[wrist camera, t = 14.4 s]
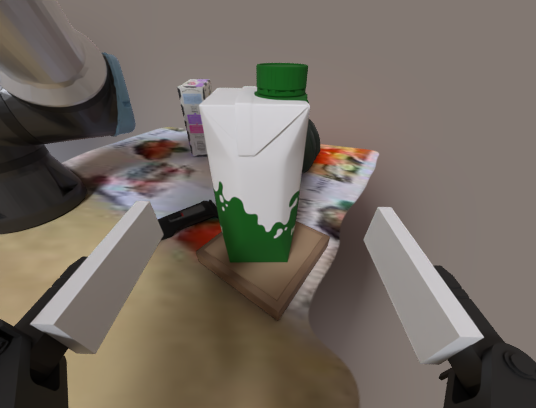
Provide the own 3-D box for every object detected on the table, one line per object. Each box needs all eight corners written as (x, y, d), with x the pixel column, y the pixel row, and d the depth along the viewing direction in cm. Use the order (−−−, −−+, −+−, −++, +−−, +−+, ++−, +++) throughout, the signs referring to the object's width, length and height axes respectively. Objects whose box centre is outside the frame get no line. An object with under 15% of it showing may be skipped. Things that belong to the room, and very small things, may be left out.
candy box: (214, 156, 55) (203, 85, 45) (191, 157, 55) (175, 85, 45) (219, 138, 66) (211, 78, 56) (200, 138, 65) (188, 78, 55)
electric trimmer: (119, 244, 31) (109, 229, 29) (215, 206, 38) (212, 192, 36) (122, 261, 29) (112, 246, 27) (224, 217, 36) (221, 203, 34)
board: (198, 261, 28) (195, 250, 27) (258, 212, 37) (257, 202, 35) (278, 321, 22) (278, 311, 21) (327, 246, 31) (330, 235, 29)
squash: (329, 137, 52) (292, 84, 46) (334, 166, 40) (286, 102, 34) (285, 167, 59) (248, 125, 53) (278, 199, 48) (231, 150, 42)
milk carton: (295, 268, 25) (326, 70, 13) (219, 269, 25) (176, 68, 12) (289, 219, 32) (304, 61, 20) (229, 220, 32) (208, 60, 19)
